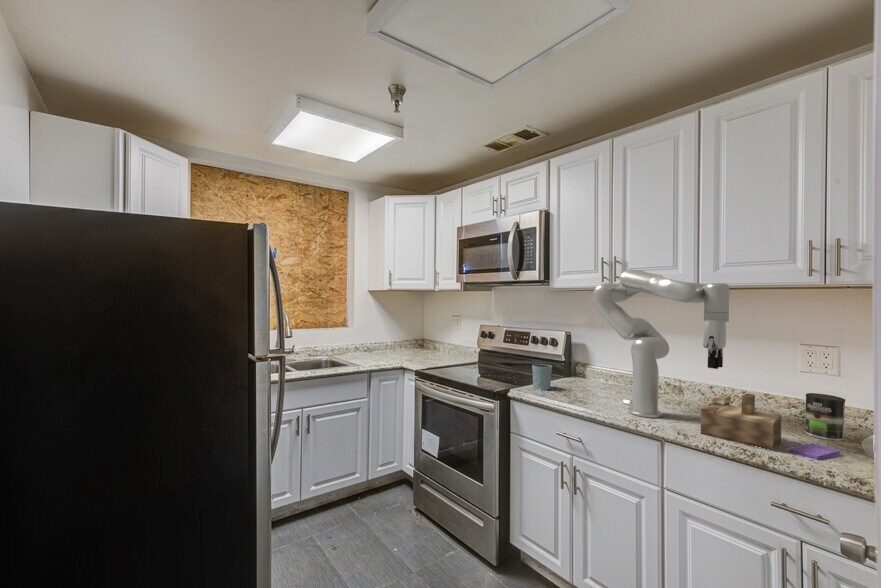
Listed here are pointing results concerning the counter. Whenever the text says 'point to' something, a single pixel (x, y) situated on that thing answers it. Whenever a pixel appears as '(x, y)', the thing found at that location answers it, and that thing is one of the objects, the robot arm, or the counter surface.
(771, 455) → the counter surface
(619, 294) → the robot arm
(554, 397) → the counter surface
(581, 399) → the counter surface
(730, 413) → the lid
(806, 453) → the sponges
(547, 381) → the drinking glass
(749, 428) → the toolbox
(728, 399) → the light brown wooden block
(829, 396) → the coffee can
